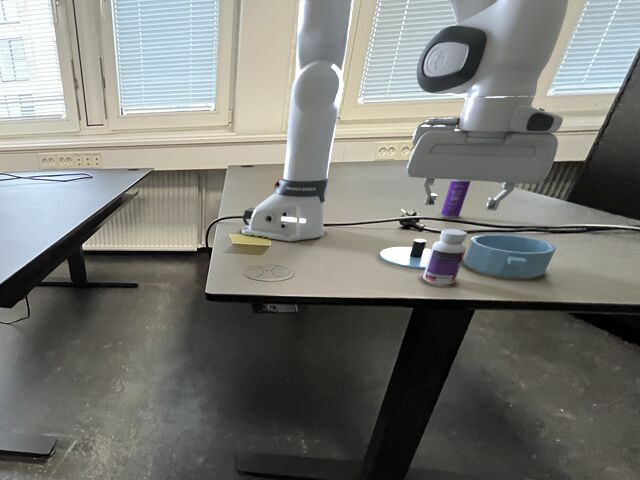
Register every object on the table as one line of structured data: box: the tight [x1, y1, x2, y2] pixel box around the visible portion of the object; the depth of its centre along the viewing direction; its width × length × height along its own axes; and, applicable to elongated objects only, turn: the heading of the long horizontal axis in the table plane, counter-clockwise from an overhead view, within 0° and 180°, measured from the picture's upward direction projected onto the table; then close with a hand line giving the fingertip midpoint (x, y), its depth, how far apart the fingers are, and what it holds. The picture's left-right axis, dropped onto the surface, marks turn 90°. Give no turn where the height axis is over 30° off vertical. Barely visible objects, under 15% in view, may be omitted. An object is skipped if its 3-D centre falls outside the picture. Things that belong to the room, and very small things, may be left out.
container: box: [440, 179, 472, 219], centre depth 119 cm, size 5×5×15 cm
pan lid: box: [379, 238, 431, 270], centre depth 90 cm, size 14×14×5 cm
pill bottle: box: [422, 229, 468, 285], centre depth 78 cm, size 5×5×10 cm
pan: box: [463, 233, 557, 278], centre depth 84 cm, size 13×19×5 cm
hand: (458, 207), depth 73 cm, fingers open, 8 cm apart
